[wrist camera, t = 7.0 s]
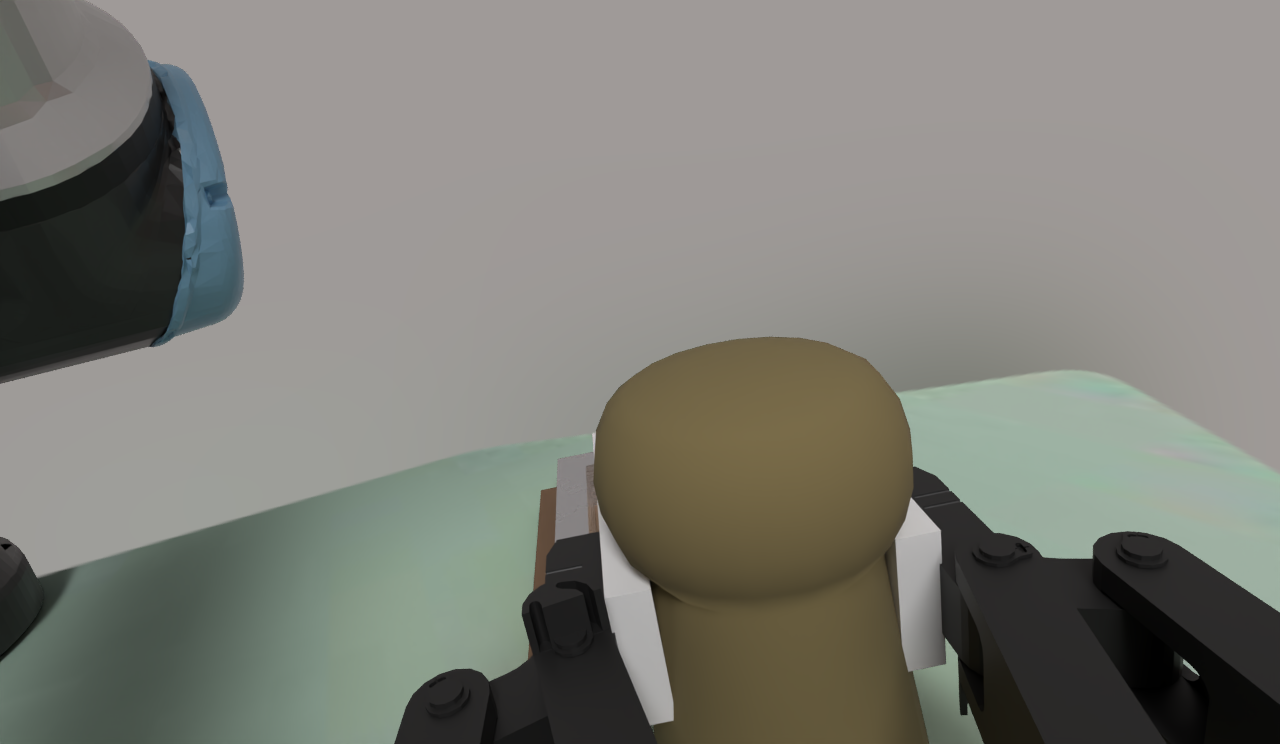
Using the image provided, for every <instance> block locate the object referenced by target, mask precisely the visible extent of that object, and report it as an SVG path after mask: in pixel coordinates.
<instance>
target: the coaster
mask: <svg viewBox="0 0 1280 744" xmlns="http://www.w3.org/2000/svg"><path fill="white" fill-rule="evenodd" d="M593 476H594V452H590V453H585V454H580V455H575V456H570V457H565V458H560V459H558V469H557V487H555V488H550V489H545V490H541V499H540V512H539V525H538V538H537V551H536V563H535V576H534V589H533V591H534V590H535V589H537V588H538V587H539V586H541V585H543V584H545V575H546V572H545V571H546V556H547V554H548V553H549V551H550V550H551V548H552V547H553V545H554V543H555V542H556V540H559V539H564V538H569V537H574V536H579V535H584V534H589V533H594V532H599V518H598V504H597V496H596V492H595V488H594V484H593ZM532 655H533V654H532V650H531V646H530V643H529V653H528V660H529V658H530V657H531V656H532Z"/></svg>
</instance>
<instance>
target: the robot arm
mask: <svg viewBox="0 0 1280 744" xmlns="http://www.w3.org/2000/svg"><path fill="white" fill-rule="evenodd" d="M227 188H228V187H227V183H226V179H225V172H224V165H223V162H222V158H221V154H220V151H219V148H218V144H217V141H216V138H215V135H214V132H213V128H212V126H211V122H210V120H209V117H208V114H207V111H206V109H205V106H204V104H203V101H202V99H201V97H200V95H199V93H198V91H197V89H196V86H195V84H194V83H193V81H192V79H191V78H190V77H189V76H188V74H187V73H186V72H185V71H184V70H182V69H181V68H179V67H177V66H173V65H169V64H159V63H157V62H153V61H149V60H147V58H146V56H145V54H144V52H143V50H142V47H141V46H140V44H139V43H138V42H137V41H136V39H135V38H134V37H133V35H132V34H131V33H130V32H129V31H128V30H127V29H126V28H125V26H123V25H122V24H121V23H120V22H119V21H118V20H116V19H115V18H114V17H112V16H111V15H110V14H108V13H107V12H105V11H104V10H101V9H100V8H98V7H96V6H94V5H93V4H91V3H89V2H87V1H85V0H0V384H1V383H5V382H9V381H13V380H17V379H21V378H25V377H29V376H33V375H37V374H41V373H45V372H49V371H53V370H57V369H61V368H65V367H69V366H73V365H77V364H81V363H85V362H89V361H93V360H97V359H101V358H105V357H109V356H113V355H117V354H121V353H125V352H128V351H133V350H137V349H140V348H145V347H156V346H160V345H163V344H165V343H167V342H168V341H170V340H171V339H172V338H173V337H175V336H178V335H182V334H185V333H188V332H191V331H194V330H197V329H200V328H203V327H206V326H209V325H213V324H216V323H218V322H220V321H222V320H224V319H226V318H227V317H228V316H229V315H231V314H232V312H233V311H234V310H235V309H236V307H237V305H238V304H239V302H240V300H241V296H242V292H243V283H244V271H243V259H242V252H241V245H240V238H239V232H238V226H237V221H236V217H235V212H234V208H233V205H232V202H231V200H230V197H229V196H228V194H227ZM592 436H593V450H594V454H595V439H596V432H594V433H592ZM913 487H914V488H913V492H912V495H911V499H910V503H909V507H908V511H907V515H906V519H905V522H904V523H903V525H902V527H901V529H900V530H899V532H898V534H897V536H896V538H895V539H894V541H893V543H892V545H891V547H890V548H889V549H888V550H887V551H886V553H885V558H886V564H887V569H888V574H889V579H890V585H891V590H892V595H893V600H894V606H895V611H896V616H897V621H898V627H899V632H900V637H901V642H902V647H903V651H904V656H905V660H906V664H907V668H908V672H909V671H914V670H919V669H924V668H929V667H934V666H938V665H943V664H946V652H945V638H946V639H947V640H948V642H949V643H950V645H951V646H952V647H953V649H954V650H955V652H956V653H957V654H958V670H959V702H960V714H961V715H968V714H967V704H968V703H969V706H970V708H971V711H972V714H973V716H974V719H975V721H976V724H977V726H978V729H979V732H980V734H981V737H982V739H983V742H984V744H1280V612H1278V611H1277V610H1275V609H1274V608H1272V607H1271V606H1269V605H1268V604H1266V603H1265V602H1263V601H1262V600H1260V599H1259V598H1257V597H1256V596H1254V595H1253V594H1251V593H1250V592H1248V591H1247V590H1245V589H1244V588H1242V587H1241V586H1239V585H1238V584H1236V583H1235V582H1233V581H1232V580H1230V579H1229V578H1227V577H1226V576H1224V575H1223V574H1221V573H1220V572H1218V571H1217V570H1215V569H1214V568H1212V567H1211V566H1209V565H1208V564H1206V563H1205V562H1203V561H1202V560H1200V559H1199V558H1197V557H1196V556H1194V555H1193V554H1191V553H1190V552H1188V551H1187V550H1185V549H1184V548H1182V547H1181V546H1179V545H1177V544H1175V543H1173V542H1171V541H1169V540H1167V539H1165V538H1162V537H1158V536H1155V535H1151V534H1147V533H1141V532H1128V531H1127V532H1117V533H1110V534H1108V535H1105V536H1103V537H1100V538H1099V539H1098V540H1097V541H1096V543H1095V544H1094V545H1093V559H1057V558H1044V557H1042V556H1041V554H1040V553H1039V551H1038V550H1036V549H1035V548H1034V547H1033V546H1032V545H1031V544H1030V543H1028V542H1026V541H1024V540H1022V539H1020V538H1018V537H1015V536H1010V535H1006V534H1001V533H993V532H992V531H991V530H990V529H989V528H988V527H987V526H986V525H985V524H984V523H983V522H982V521H981V520H980V519H979V518H978V517H977V516H976V515H975V514H974V513H973V512H972V511H971V510H970V509H969V508H968V507H967V506H966V505H965V504H964V503H963V502H960V499H959V498H958V497H957V496H956V495H955V494H954V493H953V492H952V491H949V488H948V487H947V486H946V485H945V484H944V483H943V482H942V481H941V480H940V479H939V478H938V477H936V476H935V475H933V474H930V473H928V472H926V471H924V470H922V469H919V468H917V467H913ZM597 504H598V500H597ZM598 518H599V532H594V533H589V534H584V535H579V536H574V537H569V538H564V539H559V540H556V542H555V543H554V545H553V547H552V548H551V550H550V551H549V553H548V554H547V556H546V571H545V572H546V575H545V584H543V585H541V586H539V587H538V588H537V589H535V590H534V591H533V592H532V593H530V594H529V595H528V597H527V599H526V600H525V602H524V603H523V605H522V617H523V621H524V625H525V628H526V632H527V636H528V639H529V643H530V646H531V650H532V654H533V655H532V656H531V657H530V658H529V660H527V661H526V662H525V663H524V664H522V665H521V666H520V667H518V668H516V669H515V670H513V671H511V672H509V673H507V674H505V675H503V676H501V677H499V678H496V679H494V680H492V681H490V682H489V681H488V680H487V678H486V677H485V676H484V675H483V674H482V673H481V672H478V671H475V670H472V669H455V670H452V671H448V672H445V673H442V674H439V675H437V676H436V677H434V678H432V679H431V680H429V681H427V682H426V683H424V684H423V685H422V686H421V687H420V688H419V689H418V690H417V691H416V692H415V693H414V694H413V695H412V697H411V699H410V701H409V703H408V705H407V706H406V709H405V712H404V715H403V718H402V722H401V725H400V728H399V731H398V734H397V737H396V740H395V743H394V744H658V743H657V741H656V738H655V736H654V734H653V731H652V729H651V726H650V725H655V724H660V723H664V722H669V721H674V711H673V698H672V692H671V687H670V682H669V677H668V672H667V667H666V662H665V657H664V652H663V647H662V641H661V636H660V631H659V626H658V621H657V615H656V610H655V605H654V600H653V595H652V589H651V584H650V579H648V578H647V577H646V576H644V575H643V574H642V573H640V572H639V571H638V570H636V569H635V568H634V567H632V566H631V565H630V563H629V562H628V560H627V559H626V557H625V555H624V554H623V552H622V551H621V549H620V547H619V546H618V544H617V543H616V541H615V539H614V537H613V535H612V534H611V532H610V530H609V528H608V526H607V524H606V522H605V521H604V519H603V517H602V515H601V513H600V509H599V504H598ZM43 598H44V593H43V589H42V587H41V585H40V583H39V581H38V579H37V577H36V575H35V574H34V572H33V570H32V568H31V566H30V564H29V562H28V561H27V559H26V557H25V555H24V554H23V553H22V552H21V550H20V549H19V548H18V547H17V546H16V545H14V544H13V543H12V542H10V541H9V540H8V539H5V538H3V537H0V655H1V654H3V653H4V652H5V651H6V650H7V649H8V648H9V647H10V646H11V645H12V644H13V643H14V642H15V641H16V640H17V639H18V638H19V637H20V636H21V635H22V634H23V633H24V631H25V630H26V629H27V628H28V627H29V625H30V624H31V623H32V621H33V620H34V619H35V617H36V615H37V614H38V612H39V610H40V608H41V606H42V603H43ZM1183 659H1184V660H1186V661H1187V662H1188V663H1189V664H1190V665H1191V666H1192V667H1193V668H1194V669H1195V670H1196V671H1197V672H1198V674H1199V675H1200V676H1198V675H1197V674H1195V673H1194V672H1192V671H1191V670H1190V669H1189V668H1188V667H1186V666H1185V665H1184V664H1183Z"/></svg>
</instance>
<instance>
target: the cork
mask: <svg viewBox="0 0 1280 744" xmlns="http://www.w3.org/2000/svg"><path fill="white" fill-rule="evenodd" d="M593 484H594V488H595V492H596V496H597V500H598V504H599V509H600V513H601V515H602V517H603V519H604V521H605V522H606V524H607V526H608V528H609V530H610V532H611V534H612V535H613V537H614V539H615V541H616V543H617V544H618V546H619V547H620V549H621V551H622V552H623V554H624V555H625V557H626V559H627V560H628V562H629V563H630V565H631V566H632V567H634V568H635V569H636V570H638V571H639V572H640V573H642V574H643V575H644V576H646V577H647V578H648V579H650V584H651V589H652V595H653V600H654V605H655V610H656V615H657V621H658V626H659V631H660V636H661V641H662V647H663V652H664V657H665V662H666V667H667V672H668V677H669V682H670V687H671V692H672V698H673V711H674V721H669V722H664V723H660V724H655V725H654V736H655V738H656V741H657V743H658V744H929V741H928V736H927V732H926V727H925V723H924V719H923V714H922V710H921V706H920V701H919V697H918V693H917V688H916V684H915V680H914V675H913V671H909V672H908V668H907V664H906V660H905V656H904V651H903V647H902V642H901V637H900V632H899V627H898V621H897V616H896V611H895V606H894V600H893V595H892V590H891V585H890V579H889V574H888V569H887V564H886V558H885V553H886V551H887V550H888V549H889V548H890V547H891V545H892V543H893V541H894V539H895V538H896V536H897V534H898V532H899V530H900V529H901V527H902V525H903V523H904V522H905V519H906V515H907V511H908V507H909V503H910V499H911V495H912V492H913V488H914V487H913V457H912V444H911V434H910V428H909V425H908V422H907V419H906V416H905V413H904V410H903V407H902V404H901V401H900V399H899V397H898V396H897V395H896V394H895V392H894V391H893V390H892V389H891V387H890V386H889V385H888V383H887V382H886V381H885V380H884V378H883V377H882V376H881V375H880V373H879V372H878V371H877V370H876V369H875V368H874V367H873V366H872V365H871V364H870V363H869V362H868V361H867V360H866V359H864V358H862V357H860V356H857V355H855V354H853V353H850V352H848V351H845V350H843V349H841V348H838V347H836V346H833V345H830V344H828V343H825V342H819V341H813V340H808V339H803V338H787V337H761V338H747V339H736V340H730V341H724V342H718V343H712V344H707V345H703V346H700V347H696V348H692V349H689V350H685V351H682V352H678V353H675V354H673V355H671V356H668V357H666V358H664V359H662V360H659V361H657V362H654V363H652V364H651V365H649V366H648V367H646V368H645V369H643V370H642V371H640V372H639V373H637V374H636V375H634V376H633V377H632V378H630V379H629V380H628V381H627V382H625V383H624V384H623V385H621V386H620V387H619V388H618V390H617V391H616V392H615V393H614V395H613V396H612V397H611V399H610V400H609V401H608V403H607V404H606V407H605V409H604V412H603V414H602V417H601V419H600V422H599V424H598V427H597V429H596V439H595V454H594V476H593Z"/></svg>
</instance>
